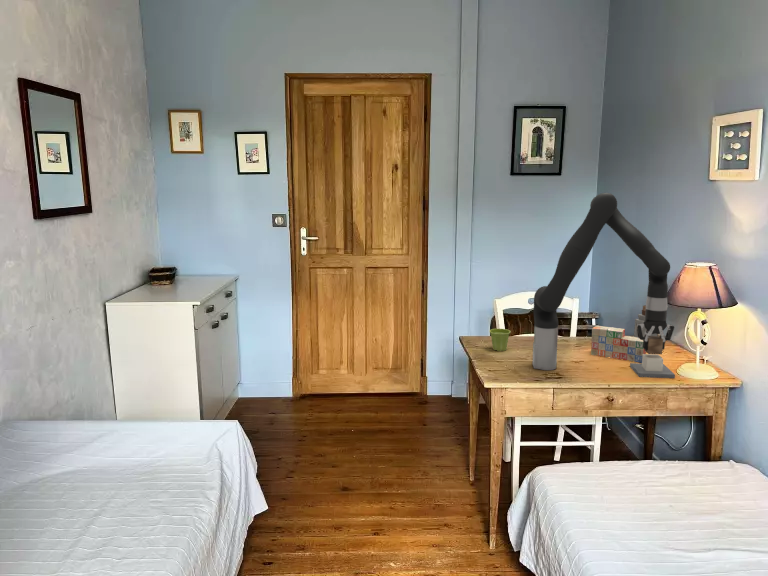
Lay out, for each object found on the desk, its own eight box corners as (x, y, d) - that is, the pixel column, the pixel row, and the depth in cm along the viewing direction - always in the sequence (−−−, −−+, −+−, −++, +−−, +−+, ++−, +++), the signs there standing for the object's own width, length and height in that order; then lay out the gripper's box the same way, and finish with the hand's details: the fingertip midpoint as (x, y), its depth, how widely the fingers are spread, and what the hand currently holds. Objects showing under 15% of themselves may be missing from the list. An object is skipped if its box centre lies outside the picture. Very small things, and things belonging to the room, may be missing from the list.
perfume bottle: (633, 347, 260) (635, 309, 256) (644, 346, 262) (647, 308, 259) (644, 351, 253) (647, 312, 250) (656, 350, 256) (659, 311, 253)
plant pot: (505, 353, 253) (506, 334, 252) (485, 350, 258) (486, 332, 256) (512, 348, 261) (513, 330, 259) (493, 345, 266) (493, 327, 264)
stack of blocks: (645, 359, 242) (648, 331, 240) (642, 363, 237) (644, 334, 235) (594, 351, 255) (596, 324, 253) (590, 355, 250) (591, 327, 248)
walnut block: (648, 354, 222) (649, 339, 221) (644, 350, 227) (645, 335, 226) (662, 354, 221) (663, 339, 220) (657, 350, 226) (658, 336, 225)
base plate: (639, 377, 220) (640, 360, 219) (629, 366, 233) (630, 351, 232) (674, 378, 218) (676, 362, 217) (663, 367, 231) (664, 352, 230)
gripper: (672, 306, 224) (669, 348, 227) (634, 305, 226) (631, 347, 229) (679, 310, 216) (676, 353, 219) (639, 309, 218) (636, 352, 221)
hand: (653, 350), depth 224 cm, fingers closed on walnut block, 5 cm apart
